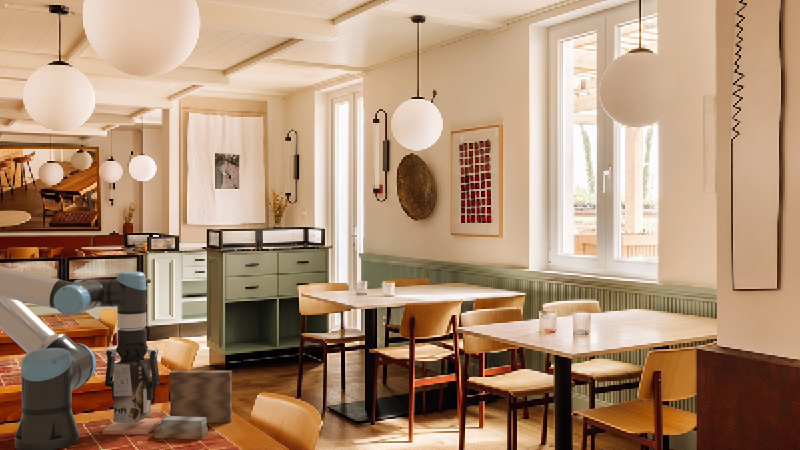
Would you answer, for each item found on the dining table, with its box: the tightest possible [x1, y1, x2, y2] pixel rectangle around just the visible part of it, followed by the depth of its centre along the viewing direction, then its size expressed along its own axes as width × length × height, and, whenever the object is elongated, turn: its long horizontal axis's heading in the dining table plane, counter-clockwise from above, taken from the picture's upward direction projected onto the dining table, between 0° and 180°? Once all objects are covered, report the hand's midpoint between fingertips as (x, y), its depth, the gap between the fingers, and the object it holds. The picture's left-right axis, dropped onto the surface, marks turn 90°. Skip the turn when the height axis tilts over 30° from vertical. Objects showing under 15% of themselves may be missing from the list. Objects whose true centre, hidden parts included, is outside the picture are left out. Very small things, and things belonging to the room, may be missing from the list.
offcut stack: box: [153, 415, 209, 440], centre depth 205 cm, size 13×4×5 cm, turn 83°
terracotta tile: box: [102, 417, 162, 435], centre depth 212 cm, size 12×12×1 cm
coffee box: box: [113, 357, 152, 424], centre depth 212 cm, size 9×6×16 cm
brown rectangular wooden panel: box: [168, 369, 233, 423], centre depth 218 cm, size 17×3×14 cm, turn 89°
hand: (132, 411), depth 212 cm, fingers closed on coffee box, 7 cm apart
